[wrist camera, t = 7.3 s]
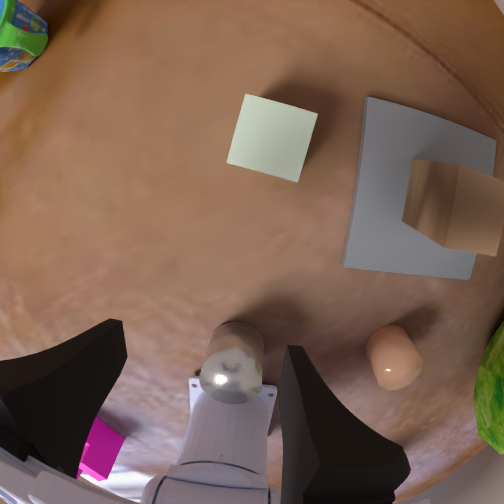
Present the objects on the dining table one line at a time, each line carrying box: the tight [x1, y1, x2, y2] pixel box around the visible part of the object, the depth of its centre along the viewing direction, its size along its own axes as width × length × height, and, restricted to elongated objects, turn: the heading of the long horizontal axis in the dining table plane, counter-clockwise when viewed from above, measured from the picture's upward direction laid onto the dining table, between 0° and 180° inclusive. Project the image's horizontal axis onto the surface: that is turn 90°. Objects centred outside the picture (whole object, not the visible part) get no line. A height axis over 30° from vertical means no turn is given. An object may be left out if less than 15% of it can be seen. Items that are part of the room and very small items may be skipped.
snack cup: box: [0, 0, 48, 72], centre depth 13 cm, size 11×8×7 cm
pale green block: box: [227, 94, 318, 182], centre depth 17 cm, size 4×4×4 cm
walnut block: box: [402, 159, 504, 257], centre depth 16 cm, size 4×4×6 cm
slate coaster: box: [341, 96, 496, 280], centre depth 19 cm, size 12×12×1 cm
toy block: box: [76, 417, 125, 481], centre depth 29 cm, size 15×6×8 cm, turn 132°
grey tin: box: [199, 321, 264, 404], centre depth 22 cm, size 4×4×5 cm
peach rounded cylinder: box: [366, 325, 423, 390], centre depth 22 cm, size 4×4×4 cm
